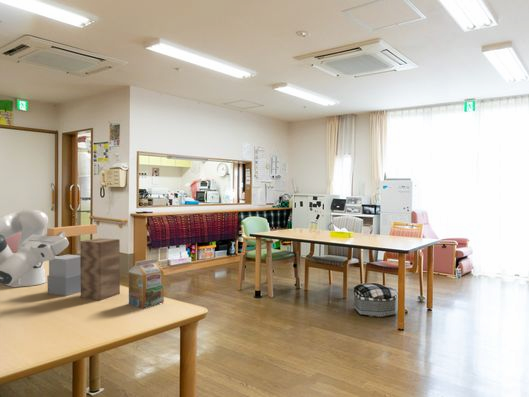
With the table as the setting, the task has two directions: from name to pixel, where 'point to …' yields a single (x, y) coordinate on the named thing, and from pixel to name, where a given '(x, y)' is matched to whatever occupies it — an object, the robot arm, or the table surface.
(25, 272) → the robot arm
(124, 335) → the table surface
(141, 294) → the milk carton
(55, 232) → the orange bar
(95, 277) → the walnut post
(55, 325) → the table surface
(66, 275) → the slate pedestal
